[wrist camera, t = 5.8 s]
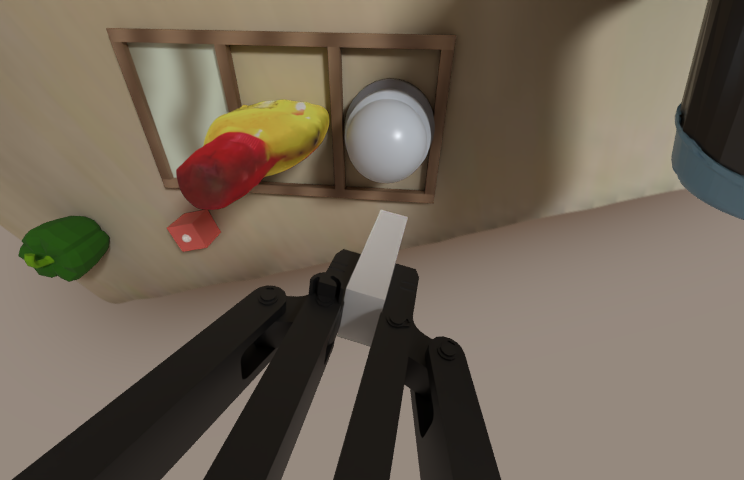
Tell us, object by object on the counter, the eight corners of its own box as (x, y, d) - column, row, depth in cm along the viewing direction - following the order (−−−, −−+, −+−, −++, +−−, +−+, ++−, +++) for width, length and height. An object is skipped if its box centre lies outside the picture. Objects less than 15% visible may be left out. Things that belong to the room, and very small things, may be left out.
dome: (434, 89, 33) (440, 105, 26) (424, 171, 37) (427, 203, 31) (348, 86, 33) (332, 101, 27) (350, 167, 38) (337, 197, 31)
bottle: (332, 87, 35) (263, 141, 19) (342, 144, 39) (291, 232, 22) (232, 98, 37) (89, 157, 21) (250, 152, 41) (139, 240, 24)
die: (207, 209, 46) (188, 225, 42) (220, 232, 48) (204, 250, 44) (183, 213, 47) (163, 230, 43) (198, 236, 49) (180, 254, 45)
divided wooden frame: (455, 35, 32) (456, 35, 30) (432, 199, 42) (433, 205, 40) (113, 28, 34) (102, 28, 33) (169, 184, 44) (162, 188, 43)
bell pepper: (111, 261, 54) (57, 304, 46) (60, 231, 51) (-8, 271, 43) (126, 231, 50) (69, 272, 42) (71, 197, 47) (0, 234, 39)
